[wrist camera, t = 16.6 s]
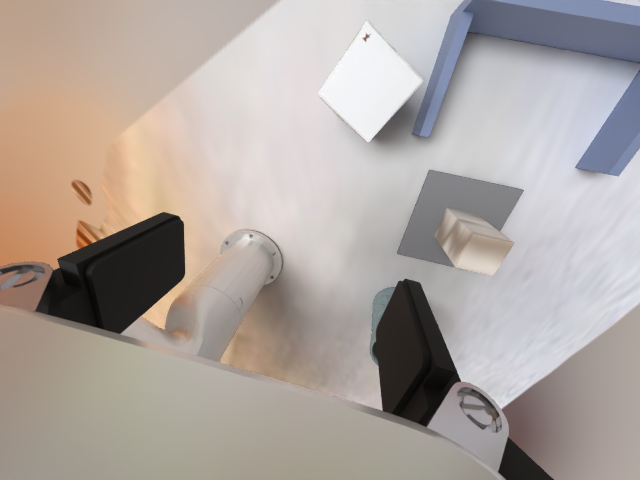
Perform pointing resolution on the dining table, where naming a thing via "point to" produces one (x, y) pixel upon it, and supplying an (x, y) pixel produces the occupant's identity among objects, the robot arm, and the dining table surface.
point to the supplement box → (369, 83)
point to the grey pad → (455, 195)
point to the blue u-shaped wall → (560, 32)
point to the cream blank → (472, 242)
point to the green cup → (378, 317)
